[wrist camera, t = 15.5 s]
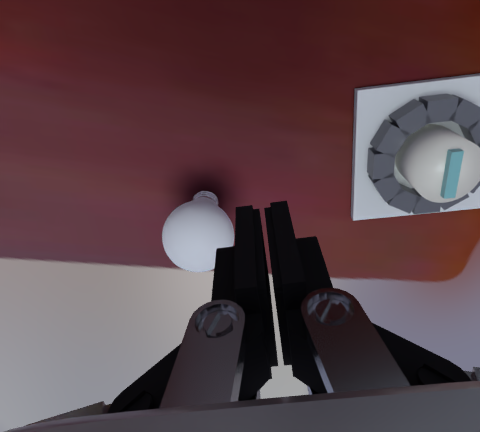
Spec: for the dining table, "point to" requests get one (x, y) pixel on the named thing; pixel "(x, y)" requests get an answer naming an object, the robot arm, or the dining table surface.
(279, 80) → the dining table surface
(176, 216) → the light bulb
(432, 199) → the knob
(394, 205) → the segmented ring plate
